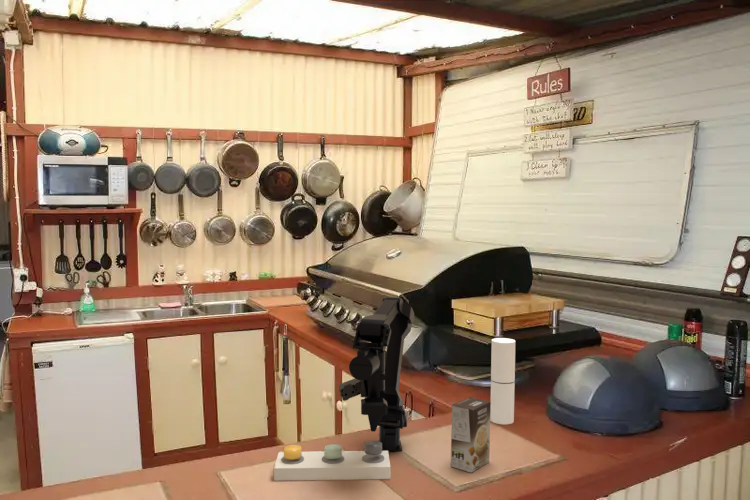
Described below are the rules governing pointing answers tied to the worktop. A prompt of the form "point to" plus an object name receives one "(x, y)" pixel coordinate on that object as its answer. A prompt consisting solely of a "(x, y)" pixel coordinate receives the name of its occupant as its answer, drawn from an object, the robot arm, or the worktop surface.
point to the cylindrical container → (502, 380)
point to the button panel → (333, 466)
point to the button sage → (332, 451)
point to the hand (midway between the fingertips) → (373, 430)
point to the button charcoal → (373, 447)
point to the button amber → (292, 452)
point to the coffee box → (470, 434)
